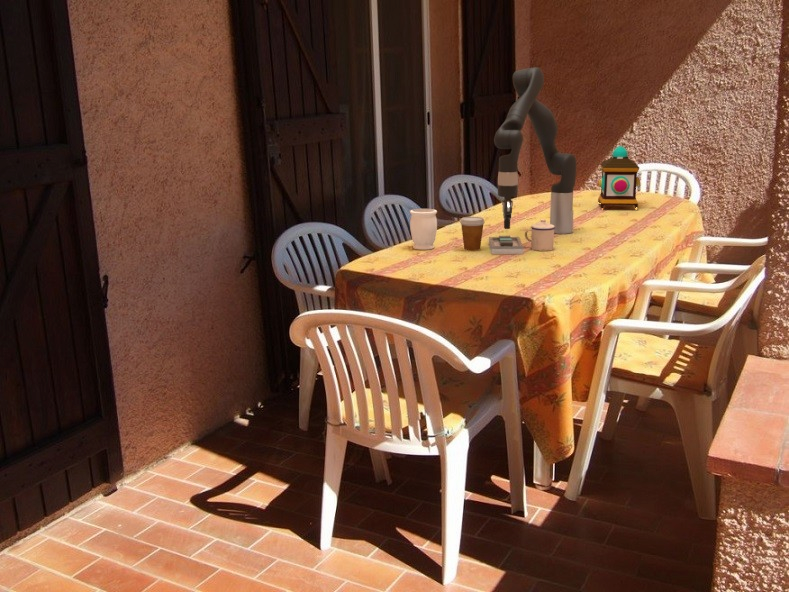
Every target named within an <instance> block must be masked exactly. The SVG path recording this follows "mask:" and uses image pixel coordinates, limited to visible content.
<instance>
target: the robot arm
mask: <svg viewBox="0 0 789 592" xmlns="http://www.w3.org/2000/svg"><path fill="white" fill-rule="evenodd" d="M544 76H545V75H544V72H543V71H542V69H541V68H539V67H537V66H534V67H528V68H524V69H518V70H516V71H514V73H513V74H512V83H513V87H514V89H515V92H516V94H517V96H518V99H517V100H516V101H515V102H514V103H513V104H512V105H511V107H510V108H509V110H508V113H507V115H506V119H505V120H504V122H503V123H501V125H500V127H499V128H498V129H497V130H496V132H495V135H494V137H493V142H494V143H493V144H494V146H495V147H496V148H498V149H501V150H511V151H510V153H509V154H504V155H501V156H499V159H498V176H497V196H498V197H500V198H503V199H502V200H501V205H502V216H503V228H504V230H509V229H511V219H512V214H513V206H514V201H513V199H512V198H514V197H517V196H518V192H519V191H518V190H519V185H518V184H519V175H518V165H519V163H518V162H519V156H520V151H521V148H522V145H523V142H524V136H523V134H522V132H521V131H522V129H523V127H524V125H525V122H526V119H527V116H528V119H529V120H530V123H531V126H532V128H533V130H534V132H535V135H536V137H537V139H538V141H539V144H540V147H541V150H542V153H543V157H544V160H545V164H546V167H547V170H548V171H549V173H551V175H553V176H560V180H559V182H556V183H553V184H552V185H551V186H550V211H549V212H550V213H549V224H552V225H554V227H555V229H554V234H557V235H559V234H562V235H563V234H572V233H574V232H573V231H574V210H573V209H574V207H573V205H574V188H575V185H576V177H577V176H576V175H577V159H576V156H575V155H574V154H572V153H567V152H566V153H562V152H559V150H558V149H557V146H556V143H555V141H556V137H557V134H558V123H557V122H556V121H557V120H556V118H555V116H554V113H553V112H552V110H551V109H549V108H548V107H547V105H544V104H543V103H542V102H541V101H539V100H538V99H537V98H538V96H539V94H540V93H541V91H542V89H543V86H544V83H545V78H544Z"/></svg>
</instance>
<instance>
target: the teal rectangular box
mask: <svg viewBox="0 0 789 592" xmlns="http://www.w3.org/2000/svg"><path fill="white" fill-rule="evenodd" d="M501 241H512V239H511V238H500V244H501Z"/></svg>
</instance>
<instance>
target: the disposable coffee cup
mask: <svg viewBox="0 0 789 592" xmlns="http://www.w3.org/2000/svg"><path fill="white" fill-rule="evenodd" d="M459 222H460V225H461V232H462V242H463V243H462V244H463V249H464V250H465V251H479V250H481V246H482V239H483V238H482V237H483V233H484V232H483V230H484V225H485V220H484V217H481V216H464V217H462V218H461V219H460V221H459Z"/></svg>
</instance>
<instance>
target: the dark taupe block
mask: <svg viewBox="0 0 789 592" xmlns="http://www.w3.org/2000/svg"><path fill="white" fill-rule="evenodd" d="M501 246H513V242H512V241H501Z"/></svg>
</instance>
